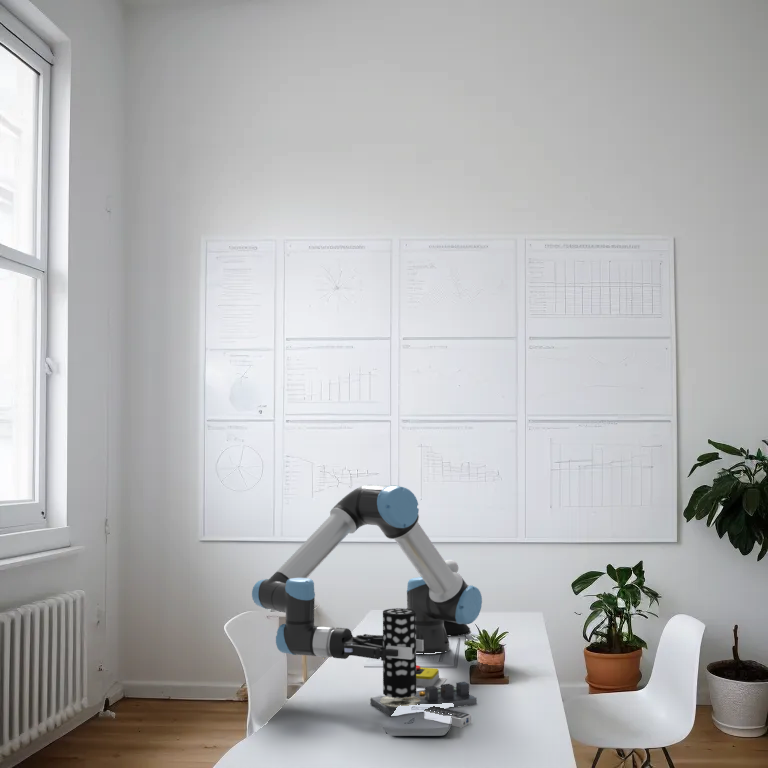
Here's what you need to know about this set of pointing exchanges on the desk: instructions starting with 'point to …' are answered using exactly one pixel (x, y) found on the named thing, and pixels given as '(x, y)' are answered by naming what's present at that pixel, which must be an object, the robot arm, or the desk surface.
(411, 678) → the spotted tube
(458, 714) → the multiport hub
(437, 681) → the emergency button
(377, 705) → the breaker board
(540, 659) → the desk surface
